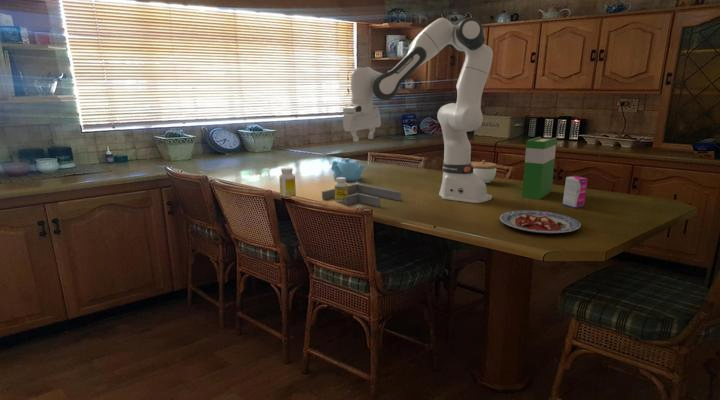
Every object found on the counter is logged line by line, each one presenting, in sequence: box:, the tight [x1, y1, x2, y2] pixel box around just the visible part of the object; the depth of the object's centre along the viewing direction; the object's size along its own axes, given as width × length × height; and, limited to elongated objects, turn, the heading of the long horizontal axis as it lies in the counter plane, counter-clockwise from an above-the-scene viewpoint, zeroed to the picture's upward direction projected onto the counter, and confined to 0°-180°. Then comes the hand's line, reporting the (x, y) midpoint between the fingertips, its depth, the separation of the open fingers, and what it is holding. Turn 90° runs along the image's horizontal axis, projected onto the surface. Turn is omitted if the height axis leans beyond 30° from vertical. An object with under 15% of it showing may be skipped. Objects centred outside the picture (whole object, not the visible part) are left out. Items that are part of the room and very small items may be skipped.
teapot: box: [330, 157, 366, 183], centre depth 238 cm, size 15×15×11 cm
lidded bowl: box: [470, 159, 498, 184], centre depth 229 cm, size 13×13×11 cm
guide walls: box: [321, 183, 402, 208], centre depth 197 cm, size 25×21×4 cm
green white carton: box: [521, 136, 557, 200], centre depth 203 cm, size 18×7×24 cm, turn 144°
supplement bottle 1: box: [278, 167, 297, 197], centre depth 200 cm, size 7×7×13 cm
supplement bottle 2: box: [334, 177, 349, 203], centre depth 195 cm, size 5×5×10 cm
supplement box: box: [562, 175, 589, 209], centre depth 185 cm, size 6×6×12 cm
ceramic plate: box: [499, 209, 582, 235], centre depth 161 cm, size 26×26×3 cm
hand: (363, 139), depth 201 cm, fingers open, 8 cm apart
